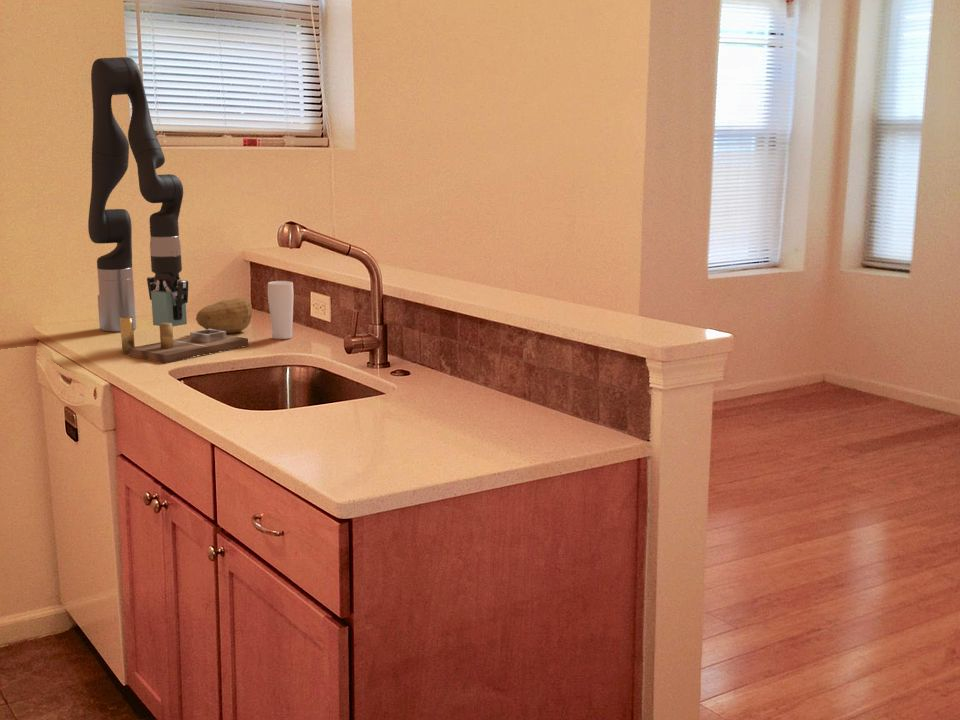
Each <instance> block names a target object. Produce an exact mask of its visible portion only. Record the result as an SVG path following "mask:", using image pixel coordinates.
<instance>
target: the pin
mask: <svg viewBox="0 0 960 720" xmlns="http://www.w3.org/2000/svg"><path fill="white" fill-rule="evenodd" d="M120 325H121V331H120V337H121V350H122V351H121V352H122V353H121V354H122V355H129V348H132V347H136V346H135V329H133V317H121V318H120Z"/></svg>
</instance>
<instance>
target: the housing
mask: <svg viewBox="0 0 960 720" xmlns="http://www.w3.org/2000/svg"><path fill="white" fill-rule="evenodd" d="M172 293H177V291H175V292H172ZM175 298H176V301H177V296H175ZM151 299H152V300H151V311H152V313H151V314H152V325H153V326H157V327H160V325H159V324H160V323H172V328H174V327H177V326H183V325H188V320H187V319H188V318H187V303H184V304H183V305H182V319H181V320H174V318H173V306H174V305H173V303H172V297H171V296H170V292H166V291H155V290H153V291H151ZM182 299H183V295H182Z"/></svg>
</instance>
